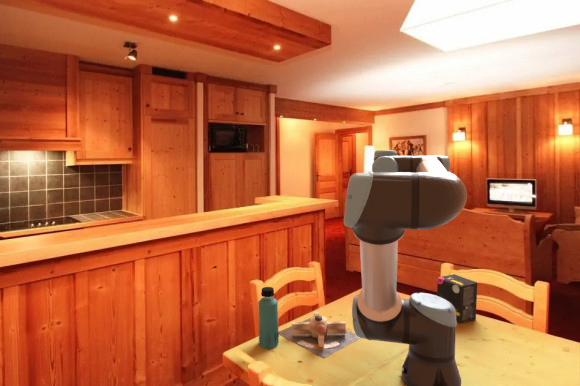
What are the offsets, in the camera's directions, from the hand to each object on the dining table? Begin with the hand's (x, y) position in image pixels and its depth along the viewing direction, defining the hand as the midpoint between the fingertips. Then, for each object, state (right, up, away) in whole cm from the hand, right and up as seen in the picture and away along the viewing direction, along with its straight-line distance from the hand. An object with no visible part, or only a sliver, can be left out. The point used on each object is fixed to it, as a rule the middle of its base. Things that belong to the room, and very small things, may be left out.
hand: (383, 264), depth 126 cm
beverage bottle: (-39, -26, -8) cm, 48 cm away
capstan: (-23, -23, -2) cm, 33 cm away
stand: (-23, -25, -2) cm, 34 cm away
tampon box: (+31, -23, +14) cm, 41 cm away
